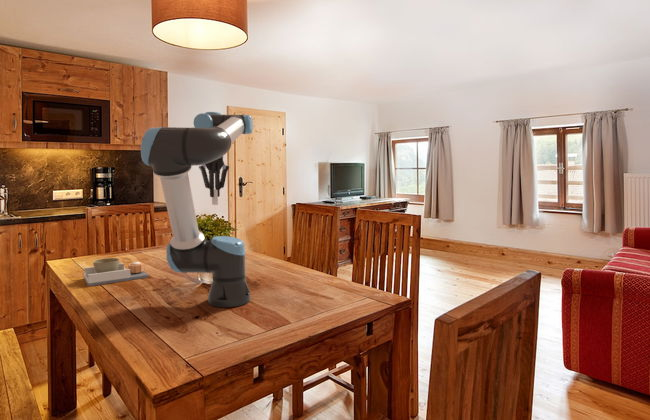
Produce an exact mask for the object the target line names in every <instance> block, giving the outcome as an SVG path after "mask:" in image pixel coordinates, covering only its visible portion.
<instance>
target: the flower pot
mask: <svg viewBox="0 0 650 420" xmlns="http://www.w3.org/2000/svg"><path fill="white" fill-rule="evenodd" d="M92 263H93V267H94V268H95V270H96V272H97V273H103V272H111V271H117V269H118V266H119V263H120V258H117V257H106V258H98V259H96V260H93V261H92Z"/></svg>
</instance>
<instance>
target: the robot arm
mask: <svg viewBox="0 0 650 420" xmlns="http://www.w3.org/2000/svg"><path fill="white" fill-rule="evenodd" d="M193 126H194V127H169V126H168V127H167V126H165V127H164V126H160V127H150V128H148V129H147V130H146V131H145V132H144V134H143V136H142V139H141V143H140V157H141V161H142V162H143V163H144V165H146V166H148V167H151V168H152V171H153V174H154V175H155V176H157V177H159V180H160V183H161V188H162V193H163V196H164V200H165V205H166V209H167V214H168V218H169V223H170V227H171V231H172V237H171V239H170V240H169V243H168V244H167V246H166V251H165V252H166V261H167V264H168V266H169V268H170V269H171V270H172V271H174V272H175V273H184V274H188V273H189V274H190V273H198V274H199V273H201V274H203V273H204V274H206V273H207V274H208V273H209V274H212V281H211V285H210V288H209V291H208V294H207V295H208V296H207V303H208V304H209V305H210V306H212V307H217V308H234V307H240V306H244V305H246V304H247V303H249V302H250V301H251V292H250V288H249V286H248V283H247V281H246V249H245V248H246V247H245V246H246V245H245V242H244V241H243V240H242V239H241V238H237V237H234V236H226V235H222V236H221V235H218V236H217V235H216V236H213V237H211V240H206V238H205V235H204V233H203V232H202V231H200V230H199V225H198V220H197V214H196V210H195V205H194V200H193V193H192V189H191V184H190V178H189V172H190V170H191V169H192V167H194V166H198V169H199V170H200V172H201V176H202V179H203V184H204V186H205V187H204V188H206V189H207V190H208V189H209V196H210V198H211V204H212V206H213V205H214V206H218V205H219V198H218V197H220V194H221V193H220V190H221V189H223V188H224V187H225V183H226V178H227V174H228V171H229V169H230V166H229V165H227V164H225V162H224V156H225V155H226V154H227V153H228V152H229V151H230V149H231V147H232V144H233V143H234V142H235V141H236V140H237V139H238V138H239V137H240V136H241V135H251V134H252V132H253V129H254V122H253V118H252V116H251V115H250V114H245V113H243V114H222V113H221V112H218V111H206V112H204V113H203V112H201V113H199V114H197V115H195V117H194V118H193ZM206 169H207V170H208V173H207V170H206ZM220 174H221V176H220Z"/></svg>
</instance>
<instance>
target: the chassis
mask: <svg viewBox="0 0 650 420" xmlns="http://www.w3.org/2000/svg"><path fill="white" fill-rule="evenodd" d="M83 271H84V272H83V280H84V282H85V283H86V285H87V287H93V286H99V285H101V286H102V285H106V284H107V285H108V284H113V283H114V284H115V283H122V282H127V281H134V280H141V279H147V278H149V274H148V273H147V272H145V270H144V271H143V272H139V273H130V269H128V268H126V267H125V264H124V262H119V266H118V269H117V271H111V272H103V273H97V272H96V270H95V268H94V266H89V267H88V266H87V267H84V268H83Z"/></svg>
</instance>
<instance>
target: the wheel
mask: <svg viewBox="0 0 650 420" xmlns="http://www.w3.org/2000/svg"><path fill="white" fill-rule="evenodd" d="M127 269H130V273H139V272H143V271H144V272H145V263H144V262H141V261H135V262H131V263H128V265H127Z"/></svg>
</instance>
